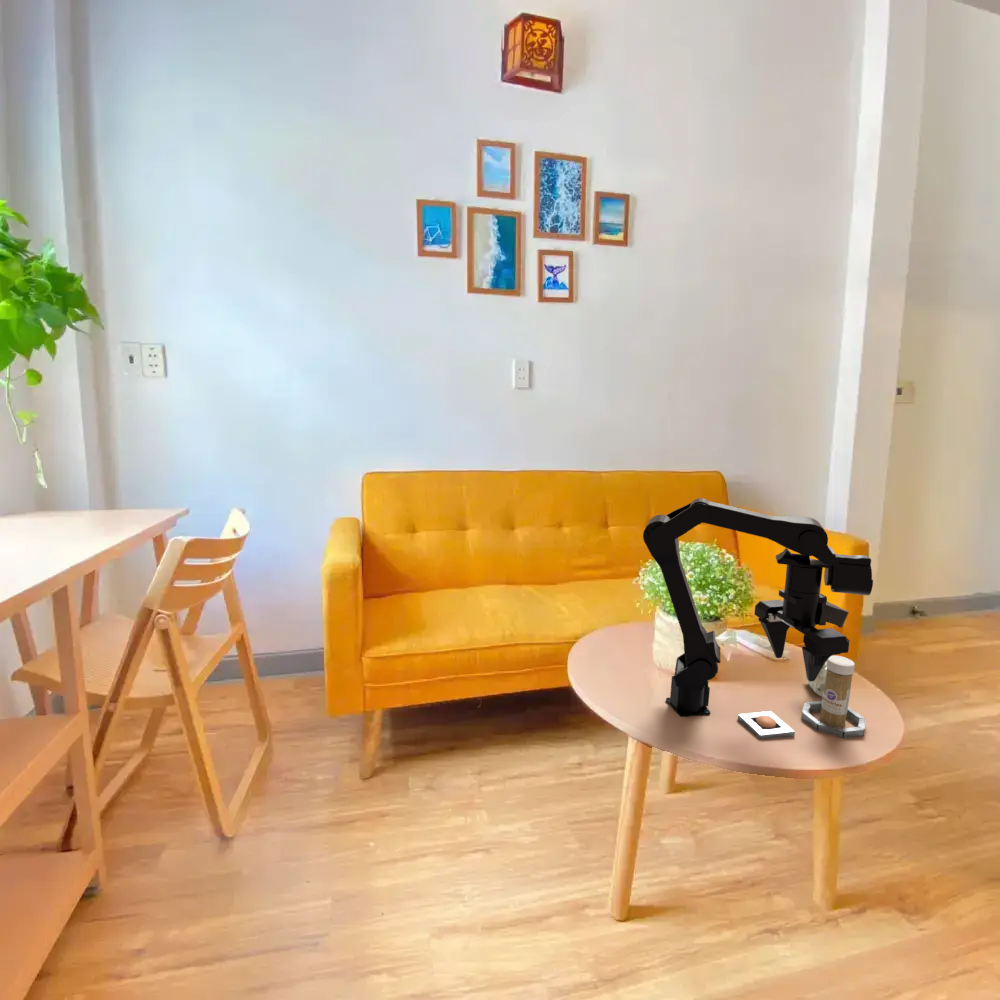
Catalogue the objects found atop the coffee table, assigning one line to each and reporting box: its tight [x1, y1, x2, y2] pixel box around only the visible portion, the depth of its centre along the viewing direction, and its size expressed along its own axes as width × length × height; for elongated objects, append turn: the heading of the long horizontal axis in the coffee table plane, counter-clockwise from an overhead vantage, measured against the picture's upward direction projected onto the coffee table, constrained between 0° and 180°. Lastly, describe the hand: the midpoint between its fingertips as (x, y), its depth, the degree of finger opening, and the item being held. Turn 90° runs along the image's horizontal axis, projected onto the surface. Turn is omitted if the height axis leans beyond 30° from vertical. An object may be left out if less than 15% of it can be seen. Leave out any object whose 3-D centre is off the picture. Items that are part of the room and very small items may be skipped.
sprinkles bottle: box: [818, 655, 856, 729], centre depth 114 cm, size 5×5×14 cm
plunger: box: [755, 716, 776, 730], centre depth 112 cm, size 3×3×2 cm
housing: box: [737, 710, 796, 740], centre depth 112 cm, size 7×7×2 cm
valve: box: [805, 661, 827, 698], centre depth 127 cm, size 7×7×12 cm
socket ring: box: [800, 700, 866, 739], centre depth 115 cm, size 10×10×2 cm
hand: (794, 668), depth 110 cm, fingers open, 9 cm apart
